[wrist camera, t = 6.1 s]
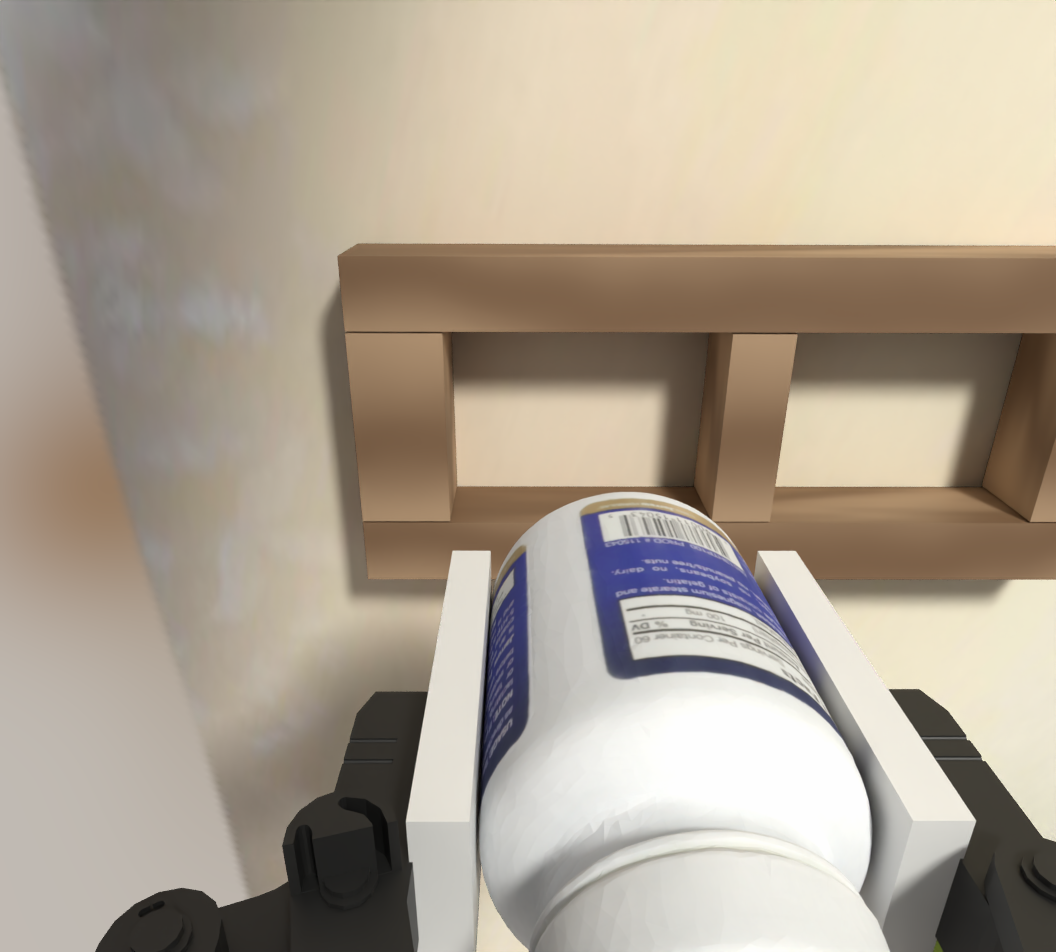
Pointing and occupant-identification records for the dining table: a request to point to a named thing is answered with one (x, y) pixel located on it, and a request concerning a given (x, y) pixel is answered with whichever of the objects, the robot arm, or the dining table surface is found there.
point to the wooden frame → (728, 397)
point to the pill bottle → (660, 749)
